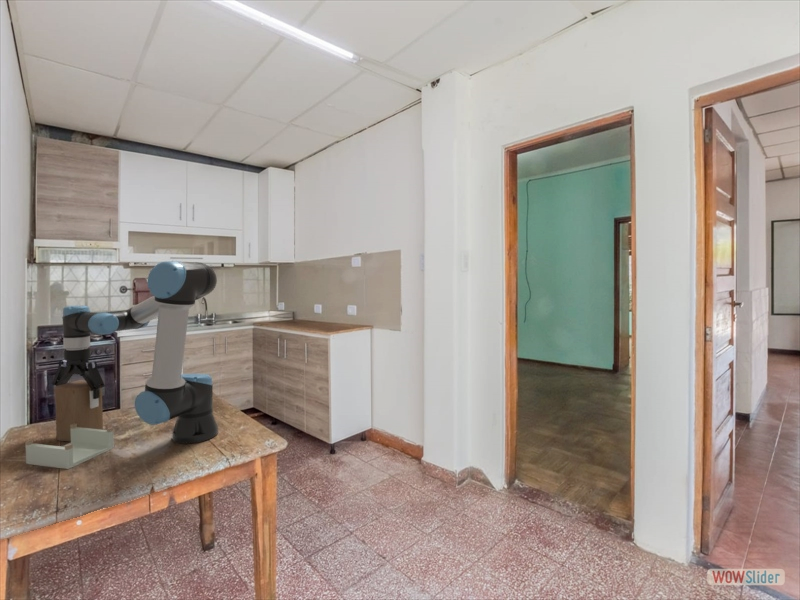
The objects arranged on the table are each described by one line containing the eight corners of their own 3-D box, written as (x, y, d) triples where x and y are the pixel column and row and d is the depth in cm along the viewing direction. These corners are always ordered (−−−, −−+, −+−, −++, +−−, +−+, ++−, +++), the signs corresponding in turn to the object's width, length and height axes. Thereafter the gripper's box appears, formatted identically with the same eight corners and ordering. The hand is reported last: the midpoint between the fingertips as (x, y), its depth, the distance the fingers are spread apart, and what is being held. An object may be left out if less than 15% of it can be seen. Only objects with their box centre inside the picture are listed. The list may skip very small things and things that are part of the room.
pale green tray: (113, 447, 137) (113, 427, 136) (68, 469, 121) (67, 446, 121) (75, 443, 140) (74, 423, 139) (26, 463, 124) (25, 441, 124)
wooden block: (78, 443, 140) (76, 387, 138) (55, 441, 141) (53, 385, 140) (104, 432, 149) (102, 380, 148) (82, 430, 151) (80, 378, 150)
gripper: (115, 348, 145) (116, 405, 146) (59, 344, 150) (61, 399, 151) (96, 352, 138) (97, 412, 139) (38, 348, 142) (40, 406, 143)
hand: (78, 405), depth 145 cm, fingers open, 13 cm apart
